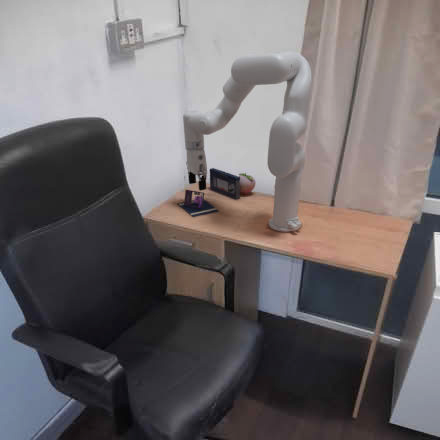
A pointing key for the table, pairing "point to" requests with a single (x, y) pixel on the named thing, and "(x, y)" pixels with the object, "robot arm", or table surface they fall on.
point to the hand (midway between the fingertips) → (197, 186)
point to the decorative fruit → (246, 183)
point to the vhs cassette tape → (225, 183)
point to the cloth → (198, 211)
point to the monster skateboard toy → (197, 199)
